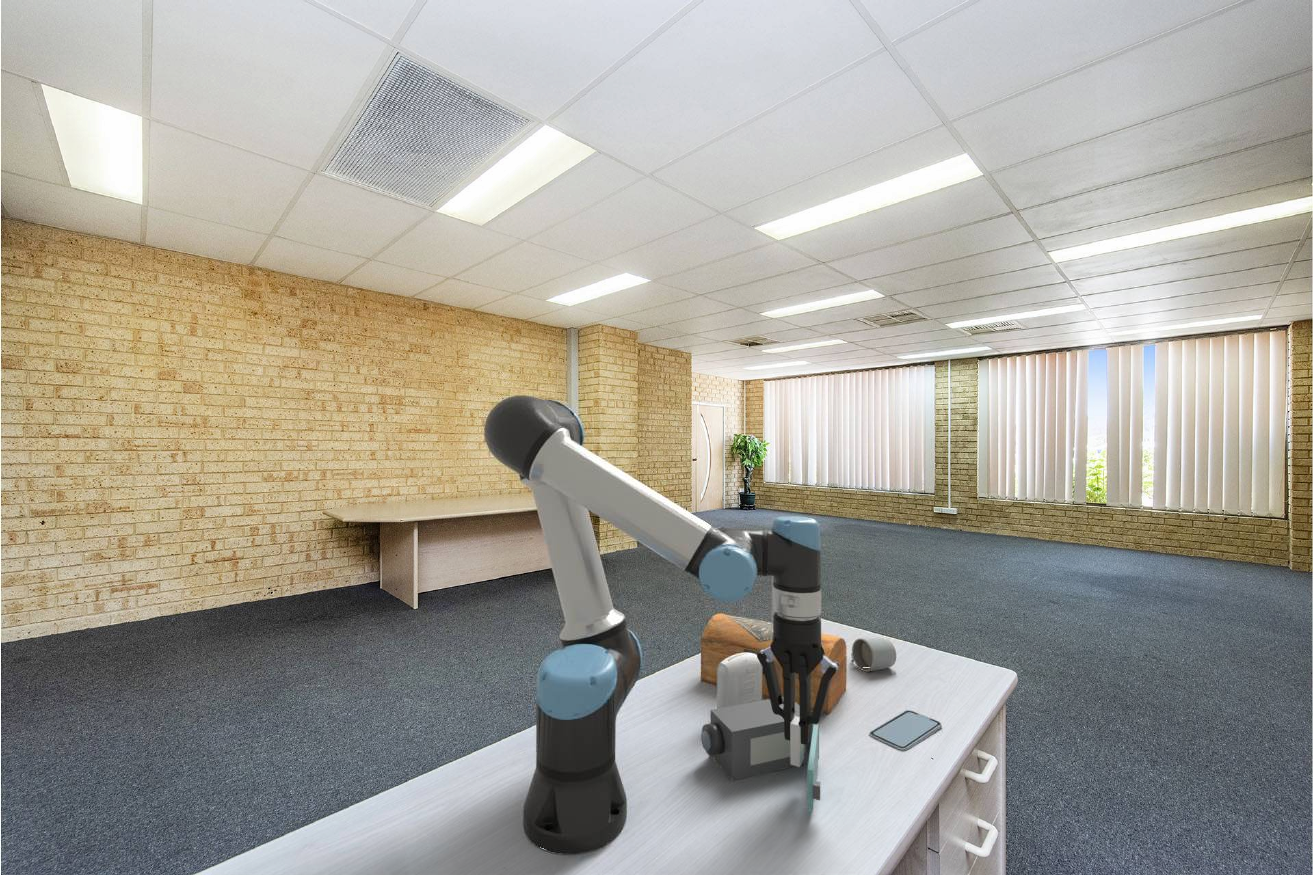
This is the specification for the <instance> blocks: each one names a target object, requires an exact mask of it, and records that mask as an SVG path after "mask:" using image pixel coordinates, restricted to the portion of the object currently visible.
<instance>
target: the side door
mask: <svg viewBox="0 0 1313 875" xmlns="http://www.w3.org/2000/svg"><path fill="white" fill-rule="evenodd" d="M819 760H820V722H819V723H818V724H813V733H812V740H811V747H810V755H809V762H808V763H807V781H806V782H807V792H806V793H807V797H806V798H807V806H806V808H807V810H806V811H810V812H814V805H815V800H816V801H821V781H817V778H818V777H817V776H818V766H819Z"/></svg>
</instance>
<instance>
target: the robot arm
mask: <svg viewBox="0 0 1313 875" xmlns="http://www.w3.org/2000/svg"><path fill="white" fill-rule="evenodd" d="M483 428H484V429H483V430H484V432H483V434H484V442H485V443H486V446H487V449H488V450H489V452H490V453H491V455H492V456H493V457H494V458H495V459H496V460H498V462H500V463H501V464H503V465H504V466H505V467H507V468H509V469H510V470H512V471H514V472H515V473H517V474H518V476H519V479H520V483H521V484H523V485H525V486H527V487H528V488H530V490H531V491H532V495H533V499H534V504H535V508H536V510H537V514H538V519H539V522H540V527H541V531H542V534H543V538H544V542H545V547H546V551H547V554H548V557H549V562H550V565H551V571H552V574H553V578H554V582H555V586H556V590H557V594H558V597H559V601H560V605H561V609H562V614H563V617H564V621H565V623H564V625H563V626H564V627H563V628H562V630H561V632H560V633H559V639H560V643H561V647H562V649H561V648H560V649H559V648H558V649H555V651H553V652H552V653H550V654H548V655H547V656H546V657H545V658H544V659H543V661H542V662H541V664H540V666H539V667H538V670H537V671H538V672H537V676H536V677H537V678H536V685H535V690H534V691H535V703H536V705H535V706H536V708H535V711H536V713H535V714H536V716H535V718H536V719H535V721H536V724H535V725H536V726H535V728H536V729H535V730H536V732H535V739H536V741H535V742H536V744H535V747H536V748H535V749H536V750H535V759H536V760H535V769H534V772H533V775H532V779H531V782H530V785H529V789H528V791H527V794H526V796H525V801H524V804H523V814H522V815H523V818H522V824H523V825H522V826H523V830H524V834H525V836H526V837H527V839H528V840H529V841H530V842H531V843H532V844H533V845H534V846H536V847H537V846H538V848H539V847H541V848H544V849H546V850H547V851H546V850H545V851H546V852H549V851H550V852H549V853H553V852H554V854H558V853H562V854H561V855H575V854H576V855H577V854H583V853H588V852H591V851H594V850H597V849H599V848H601V847H604V846H605V845H607V844H609V843H610V842H611V841H613V840H614V839H615V838H616V837H617V836H618V835H619V834H620V833H621V831H622V830H623V829H624V827H625V824H626V822H627V819H628V818H627V816H628V814H627V813H628V809H627V808H628V799H627V794H626V791H625V788H624V785H623V781H622V778H621V775H620V771H619V768H618V765H617V763H616V742H617V741H616V733H617V732H616V728H617V727H616V722H617V717H618V716H617V715H619V714H618V713H619V712H620V710H621V707H623V705H624V704H625V701H626V699H627V697H628V696H629V695H630V692H631V691H632V690H633V688H634V686H635V685H636V683H637V681H638V679H639V676H640V673H641V669H642V664H643V652H642V647H641V644H640V641H639V639H638V638H637V636H636V635H635V633H634V632H633V631H632V630H630V629H629V628H628V624H627V621H626V620H627V619H626V616H625V614H624V613H622V612H620V611H619V610H617V609H616V608H614V605H613V601H612V597H611V592H610V590H609V589H610V588H609V585H608V583H607V579H606V573H605V571H604V566H603V563H602V559H601V556H600V555H601V554H600V551H599V548H598V542H597V540H596V539H597V538H596V536H595V532H594V528H593V527H594V526H593V523H592V520H591V516H590V512H592V513H593V514H594V515H596V516H598V517H599V518H601V519H602V520H604V521H605V522H607V523H608V524H610V525H612V526H613V527H615V528H616V529H618V530H620V531H621V532H622V533H624V534H626V535H628V536H629V537H630V538H632V539H633V540H635V541H637V542H638V543H640V544H642V545H643V546H644V547H645V548H648V549H650V550H651V551H653V552H654V553H656V554H657V555H659V556H660V557H662V558H664V559H665V560H666V561H669V562H670V563H671V564H673V565H675V566H677V567H678V568H679V569H680V570H682V571H684V572H686V573H688V574H689V575H690V576H692V577H693V578H694V579H696V580H698V581H699V582H700V584H701V586H702V588H703V590H704V592H706V594H707V595H709V597H710V598H712V599H714V600H715V601H718V602H719V603H720V602H721V603H724V604H727V603H728V604H729V603H735V602H738V601H741V600H743V599H744V598H745V597H746V596H747V595H749V593H750V592H751V591H752V588H753V587H754V585H755V583H756V579H757V576H759V577H761V576H763V577H769V576H770V577H772V576H773V609H774V611H775V614H774V615H773V641H772V642H771V645H770V647H769V648H767V649H766V648H763V649H762V650H761V651H760V652H759V653H758V654H757V658H758V660H759V662H760V663H761V665H762V667H763V670H764V675H765V679H766V684H767V688H768V693H769V697H770V702H771V706H772V711H773V713H774V714H775V715H780V716H782V717H783V719H784V737H785V739H786V740H789V741H790V764H791V765H794V766H793V767H797V768H801V766H802V765H803V764H802V762H803V760H804V745H807V744H808V742H809V740H810V724H812V723H813V724H818V723H819V724H820V721H821V719H822V717H823V715H824V714H823V710H824V707H825V703H826V699H827V695H828V691H829V687H830V683H831V679H832V677H833V676H834V674H835V673H836V671H837V670H838V668H839V664H838V663H837V662H835V661H833V662H832V661H831V660H829V659H828V658H827V657H826V656H825V652H824V649H823V647H822V644H821V633H822V618H821V617H820V615H821V613H822V550H823V549H822V544H821V543H822V542H821V526H820V523H819V522H818V521H817V520H816V519H814V518H811V517H808V516H796V515H795V516H793V515H792V516H791V515H790V516H778V517H775V518H774V519H773V521H772V525H771V528H766V529H758V528H757V529H756V528H736V527H735V528H731V527H724V526H719V527H713V526H711V525H710V524H709V523H707V522H706V521H704V520H703V519H702V518H699V517H698V516H696V515H694V514H693V513H691V512H689V511H688V510H686V509H685V508H683V507H682V506H680V505H678V504H677V503H675V502H674V501H672V500H671V499H669V498H667V497H665V495H662V494H660V493H658V492H657V491H656V490H654V489H652V488H650V487H649V486H647V485H645V483H643V482H641V481H640V480H637V479H636V478H634V477H632V476H631V475H629V474H628V473H626V472H624V471H623V470H621V469H619V468H618V467H616V466H615V465H613V464H612V463H610V462H608V461H606V460H605V459H604V458H602V457H600V456H599V455H597V454H595V453H594V452H592V451H590V450H589V449H587V448H586V447H584V446H583V445H584V442H585V428H584V426H583V423H582V421H581V418H580V417H579V416H578V414H577V413H576V412H575V411H574V410H573V409H572V408H570V407H569V406H567V405H566V404H564V403H562V402H560V401H557V400H552V399H543V398H540V397H539V398H538V397H534V396H529V395H521V394H519V395H513V396H509V397H507V398H505V399H502V400H501V401H499V402H498V403H497V404H495V405H494V406H493V408H492V409H491V410H490V411H489V413H488V415H487V417H486V420H485V422H484V427H483ZM818 615H819V616H818ZM774 656H775V657H776V659H777V661H778V662H779V664H780V665H781V667H782V668H783V699H782V694H781V690H780V685H779V681H778V676H777V672H776V668H775V664H774V661H773V660H774ZM819 663H821V664H822V667H821V671H822V672H823V673H824V674H823V676H822V678H821V682H820V686H819V689H818V693H817V697H816V701H815V705H814V709H813V711H811V672H812V671H813V670H814V669H815V668H816V666H817V665H818V664H819ZM795 673H797V674H798V679H799V708H800V717H797V716H795V717H794V714H795V712H796V710H795ZM801 764H802V765H801ZM541 848H540V849H541Z"/></svg>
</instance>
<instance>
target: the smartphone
mask: <svg viewBox="0 0 1313 875" xmlns="http://www.w3.org/2000/svg"><path fill="white" fill-rule="evenodd" d="M938 729H939V730H940V729H942V722H941V721H939V720H936V719H933V718H931V717H928V716H926V715H924V714H921V713H919V712H916V711H913V710H911V709H910V710H909V709H906V710H904V711H903V712H900V713H899V714H897V715H896V716H894V717H892V718H891V719H889V720H886V721H885V722H884V723H882V724H881V725H879V726H878V727H875V728H874V729H872V730H870V731H869V733H868V736H870V738H873V739H875V740H877V741H878V742H881V743H884V744H886V745H888V746H889V747H891V748H894V749H896V750H898V751H902V752H903V751H904V752H905V751H908V750H909V749H911V748H912V747H914V746H915V745H917V744H919V743H920V742H922V741H924V740H925V739H926V738H928V737H930V736H932V735H933V734H935V733H936V732H937V730H938ZM939 730H938V731H939ZM934 732H935V733H934Z"/></svg>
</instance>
